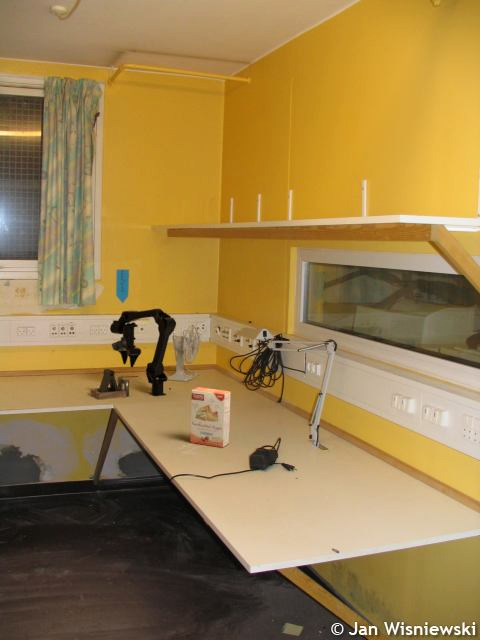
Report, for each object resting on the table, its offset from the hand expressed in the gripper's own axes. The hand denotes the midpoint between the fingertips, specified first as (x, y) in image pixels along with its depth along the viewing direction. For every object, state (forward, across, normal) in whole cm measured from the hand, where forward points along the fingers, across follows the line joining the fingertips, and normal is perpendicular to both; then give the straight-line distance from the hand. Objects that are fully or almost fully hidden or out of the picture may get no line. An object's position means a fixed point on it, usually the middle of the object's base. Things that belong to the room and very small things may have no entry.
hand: (128, 365), depth 361 cm
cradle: (+12, +11, -15) cm, 22 cm away
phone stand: (+11, +11, -15) cm, 22 cm away
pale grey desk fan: (+12, -17, +40) cm, 45 cm away
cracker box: (+12, +103, -11) cm, 104 cm away
